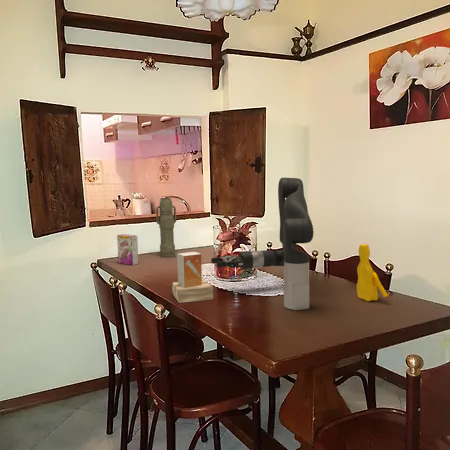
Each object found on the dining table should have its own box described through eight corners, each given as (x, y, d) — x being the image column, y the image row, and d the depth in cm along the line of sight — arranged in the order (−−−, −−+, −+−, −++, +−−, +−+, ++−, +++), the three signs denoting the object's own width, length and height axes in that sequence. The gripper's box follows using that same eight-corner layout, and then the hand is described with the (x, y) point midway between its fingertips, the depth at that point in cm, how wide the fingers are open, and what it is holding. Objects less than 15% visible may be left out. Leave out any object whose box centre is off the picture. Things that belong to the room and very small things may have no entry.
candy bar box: (117, 263, 258) (116, 234, 256) (124, 262, 263) (123, 233, 261) (132, 265, 252) (131, 236, 250) (138, 264, 257) (137, 234, 255)
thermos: (179, 256, 276) (177, 198, 272) (161, 258, 271) (158, 199, 267) (174, 254, 284) (172, 197, 280) (156, 256, 279) (153, 198, 274)
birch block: (213, 299, 185) (213, 287, 184) (178, 302, 181) (178, 290, 180) (204, 290, 198) (204, 279, 197) (172, 293, 194) (172, 282, 194)
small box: (184, 288, 184) (183, 255, 182) (177, 284, 189) (176, 253, 188) (202, 285, 188) (201, 253, 186) (195, 281, 193) (194, 251, 192)
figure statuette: (391, 304, 174) (393, 246, 171) (375, 306, 171) (376, 248, 168) (360, 292, 190) (361, 240, 188) (345, 295, 187) (345, 241, 185)
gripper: (245, 248, 201) (209, 250, 197) (256, 253, 188) (218, 256, 183) (245, 265, 202) (209, 268, 198) (257, 271, 189) (219, 275, 184)
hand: (214, 262), depth 190 cm, fingers open, 8 cm apart
